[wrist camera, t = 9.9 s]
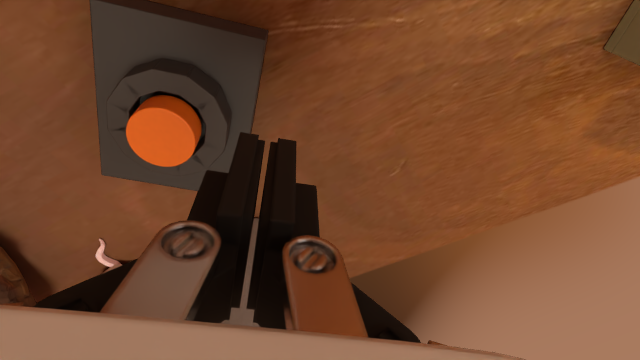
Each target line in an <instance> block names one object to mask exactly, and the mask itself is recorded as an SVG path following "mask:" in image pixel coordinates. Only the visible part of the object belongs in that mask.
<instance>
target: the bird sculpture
mask: <svg viewBox="0 0 640 360" xmlns="http://www.w3.org/2000/svg"><path fill="white" fill-rule="evenodd" d="M19 302H23V303H24V307H33V306H35V305H36V304H37V302H36V301H35V299H34V297H33V296H32V295H31V294H30V292H29V289H28V286H27V284H26V282H25V280H24V278H23V276H22V274H21V272H20V271H19V269H18V267H17V265H16V264H15V263H14V261H13V260H12V259H11V258H10V257H9V255H8V254H7V253H6V252H5V251H4V249H3V248H2V247H0V304H7V303H19Z"/></svg>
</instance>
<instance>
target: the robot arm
mask: <svg viewBox="0 0 640 360" xmlns="http://www.w3.org/2000/svg"><path fill="white" fill-rule="evenodd" d="M258 137H259V135H255V134H249V133H243V132H240V135H239V138H238V142H237V145H236V149H235V152H234V156H233V159H232V163H231V166H230V169H229V173H225V172H218V171H211V170H206V172H205V175H204V177H203V180H202V183H201V185H200V188H199V190H198V193H197V196H196V198H195V201H194V203H193V206H192V209H191V211H190V214H189V216H188V219H187V221H178V222H175V223H171V224H169V225H167V226H165V227H163V228H162V229H161V230H160V231H159V232H158V233H157V234H156V235H155V237H154V238H153V240H152V241H151V242H150V244H149V245H148V246H147V248H146V249H145V251H144V252H143V253H142V255H141V256H140V257H139V258H138V259H136V260H133V261H131V262H129V263H126V264H124V265H122V266H119V267H117V268H115V269H112V270H110V271H107V272H105V273H103V274H100V275H98V276H96V277H93V278H91V279H89V280H86V281H84V282H81V283H79V284H77V285H74V286H72V287H70V288H67V289H65V290H63V291H60V292H58V293H55V294H53V295H51V296H49V297H47V298H45V299H43V300H42V301H40V302H38V303H37V304H36V305H35V306H33V307H24V303H23V302H19V303H7V304H0V360H525V359H522V358H518V357H513V356H508V355H504V354H499V353H495V352H488V351H480V350H473V349H466V348H459V347H452V346H447V345H443V344H440V343H437V342H433V341H430V340H429V341H428V343H427V344H424V343H421V342H420V340H419V339H418V337H417V336H416V335H414V333H413V332H412V331H411V330H409V329H408V328H407V327H406V326H404V325H403V324H402V323H401V322H400V321H398V320H397V319H396V318H394V317H393V316H392V315H391V314H389V313H388V312H387V311H386V310H385V309H383V308H382V307H381V306H380V305H378V304H377V303H376V302H375V301H373V300H372V299H371V298H370V297H368V296H367V295H366V294H365V293H363V292H362V291H361V290H359V289H358V288H357V287H356V286H355V285H354V284H352V283H351V282H350V279H349V276H348V273H347V270H346V267H345V264H344V261H343V258H342V255H341V254H340V252H339V250H338V249H337V248H336V247H335V246H334V245H333V244H332V243H330V242H329V241H327V240H325V239H322V238H320V236H319V220H318V204H317V189H316V186H314V185H307V184H300V183H296V141H292V140H286V139H280V138H278V143H275V142H271V144H270V150H269V157H268V163H267V170H266V176H265V183H264V189H263V196H262V202H261V209H260V215H259V222H258V229H257V237H256V244H255V251H254V258H253V265H252V272H251V279H250V286H249V294H248V301H247V308H246V309H251V310H254V316H253V323H257V324H258V325H259V326H260V327H251V326H241V325H230V324H220V323H221V322H223V321H224V320H229V319H230V314H231V308H240V303H241V297H242V290H243V284H244V278H245V271H246V265H247V259H248V252H249V246H250V240H251V233H252V227H253V221H254V214H255V207H256V200H257V193H258V186H259V179H260V173H261V166H262V159H263V152H264V145H265V141H263V140H258Z"/></svg>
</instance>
